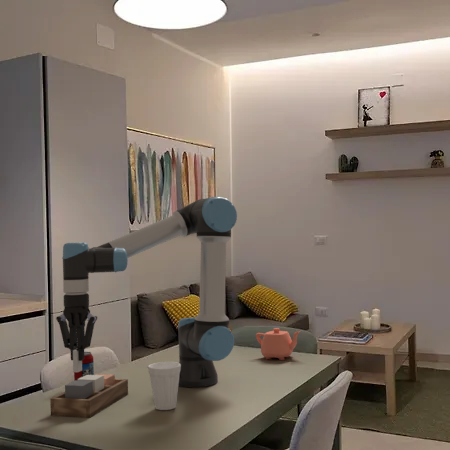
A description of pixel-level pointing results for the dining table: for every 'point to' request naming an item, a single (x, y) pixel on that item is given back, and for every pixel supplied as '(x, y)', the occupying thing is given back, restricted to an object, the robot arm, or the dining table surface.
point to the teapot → (277, 343)
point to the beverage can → (85, 366)
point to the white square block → (94, 381)
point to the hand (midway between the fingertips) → (77, 371)
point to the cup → (165, 383)
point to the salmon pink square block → (108, 379)
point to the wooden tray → (89, 401)
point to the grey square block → (79, 389)
